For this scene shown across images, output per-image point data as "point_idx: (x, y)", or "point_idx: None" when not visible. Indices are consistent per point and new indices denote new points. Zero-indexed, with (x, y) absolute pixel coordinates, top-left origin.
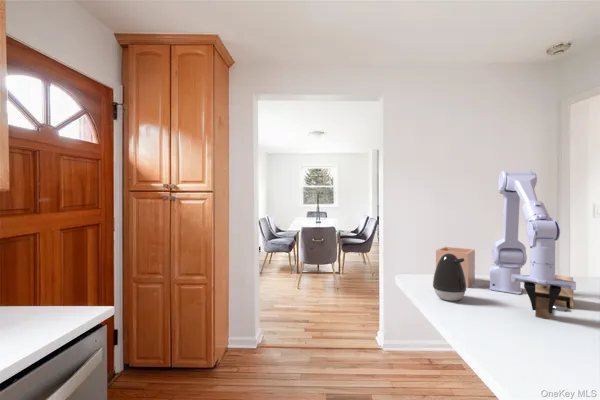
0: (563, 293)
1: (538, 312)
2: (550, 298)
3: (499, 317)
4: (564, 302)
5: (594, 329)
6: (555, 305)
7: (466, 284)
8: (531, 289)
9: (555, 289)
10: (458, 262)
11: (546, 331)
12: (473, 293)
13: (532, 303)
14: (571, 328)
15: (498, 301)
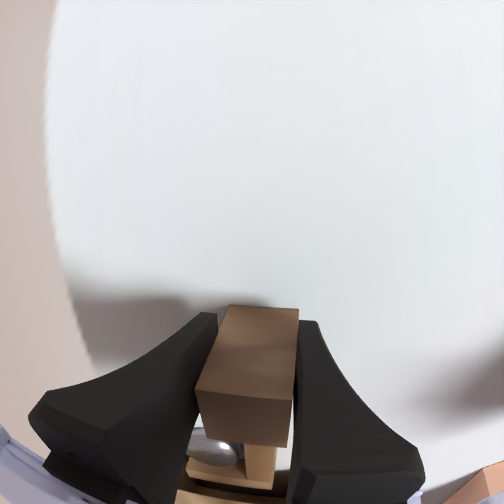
0: (187, 501)
1: (280, 327)
2: (155, 377)
3: (492, 160)
4: (191, 470)
5: (61, 261)
6: (218, 453)
7: (488, 475)
8: (336, 449)
9: (48, 425)
10: None
11: (223, 41)
12: (491, 440)
13: (318, 348)
14: (117, 207)
15: (437, 424)
